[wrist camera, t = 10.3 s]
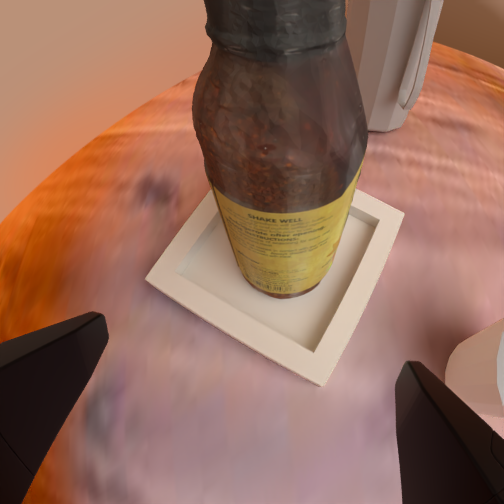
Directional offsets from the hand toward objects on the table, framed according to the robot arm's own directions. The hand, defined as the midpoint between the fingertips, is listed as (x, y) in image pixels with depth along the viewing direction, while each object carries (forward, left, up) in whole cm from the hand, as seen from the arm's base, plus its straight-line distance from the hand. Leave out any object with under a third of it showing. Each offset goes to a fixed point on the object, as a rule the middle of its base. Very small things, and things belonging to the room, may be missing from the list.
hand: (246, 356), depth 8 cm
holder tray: (+7, +3, -11) cm, 14 cm away
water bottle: (+24, +2, -12) cm, 27 cm away
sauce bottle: (+7, +3, -11) cm, 14 cm away
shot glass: (+6, -14, -12) cm, 19 cm away
